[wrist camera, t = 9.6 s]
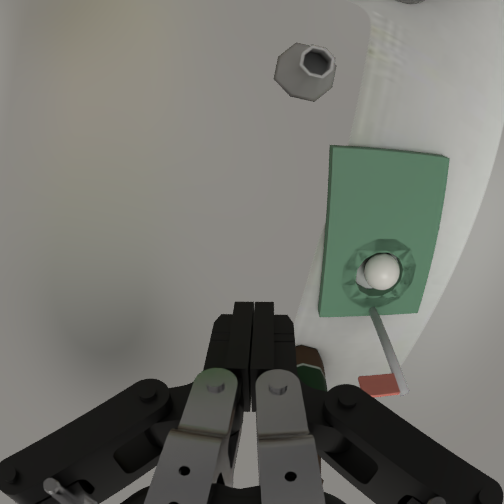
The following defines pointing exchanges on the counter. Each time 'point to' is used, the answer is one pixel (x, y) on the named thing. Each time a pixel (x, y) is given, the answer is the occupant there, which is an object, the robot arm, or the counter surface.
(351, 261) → the putting board
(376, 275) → the ball
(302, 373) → the beer bottle
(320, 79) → the flask
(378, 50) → the counter surface
